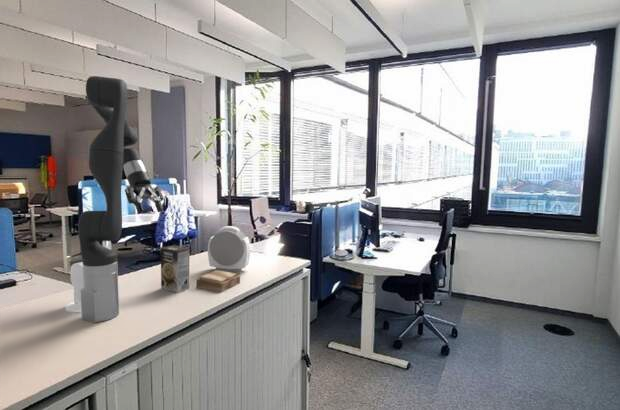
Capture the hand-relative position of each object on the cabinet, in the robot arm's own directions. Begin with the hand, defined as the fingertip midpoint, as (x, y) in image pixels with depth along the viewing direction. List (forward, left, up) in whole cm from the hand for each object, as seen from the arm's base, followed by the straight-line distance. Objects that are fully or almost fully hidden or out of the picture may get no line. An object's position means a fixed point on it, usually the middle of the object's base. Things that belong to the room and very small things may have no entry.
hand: (151, 211), depth 136 cm
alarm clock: (+31, -13, -30) cm, 45 cm away
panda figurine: (-24, +5, -30) cm, 38 cm away
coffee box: (+2, -9, -30) cm, 31 cm away
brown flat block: (+13, -21, -29) cm, 39 cm away
